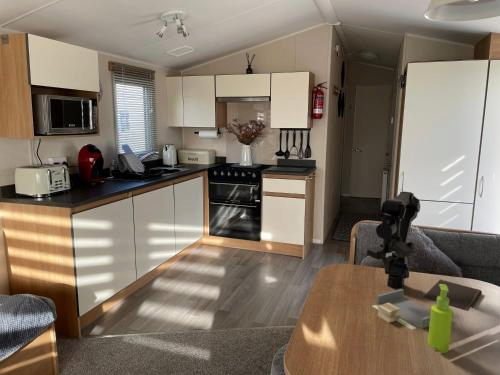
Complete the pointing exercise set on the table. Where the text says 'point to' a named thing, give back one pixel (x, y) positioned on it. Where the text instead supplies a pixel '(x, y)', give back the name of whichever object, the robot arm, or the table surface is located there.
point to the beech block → (388, 312)
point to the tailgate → (399, 320)
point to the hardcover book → (455, 294)
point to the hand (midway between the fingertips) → (388, 271)
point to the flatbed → (406, 308)
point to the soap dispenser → (440, 322)
